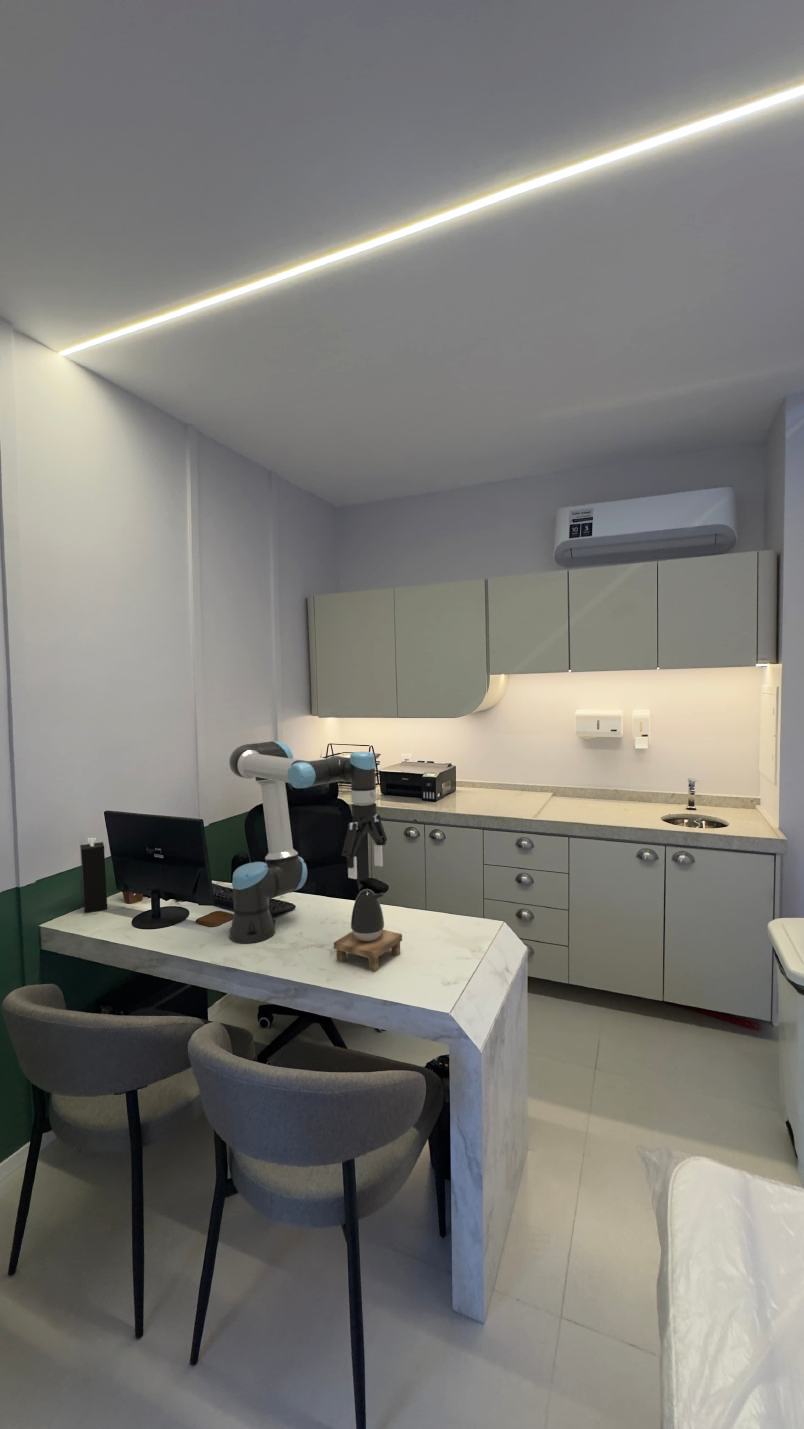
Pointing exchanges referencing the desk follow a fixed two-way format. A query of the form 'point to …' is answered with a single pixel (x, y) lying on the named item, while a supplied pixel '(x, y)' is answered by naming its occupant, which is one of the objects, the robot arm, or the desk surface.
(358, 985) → the desk surface
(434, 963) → the desk surface
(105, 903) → the tissue box
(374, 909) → the pump dispenser
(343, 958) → the walnut footstool
